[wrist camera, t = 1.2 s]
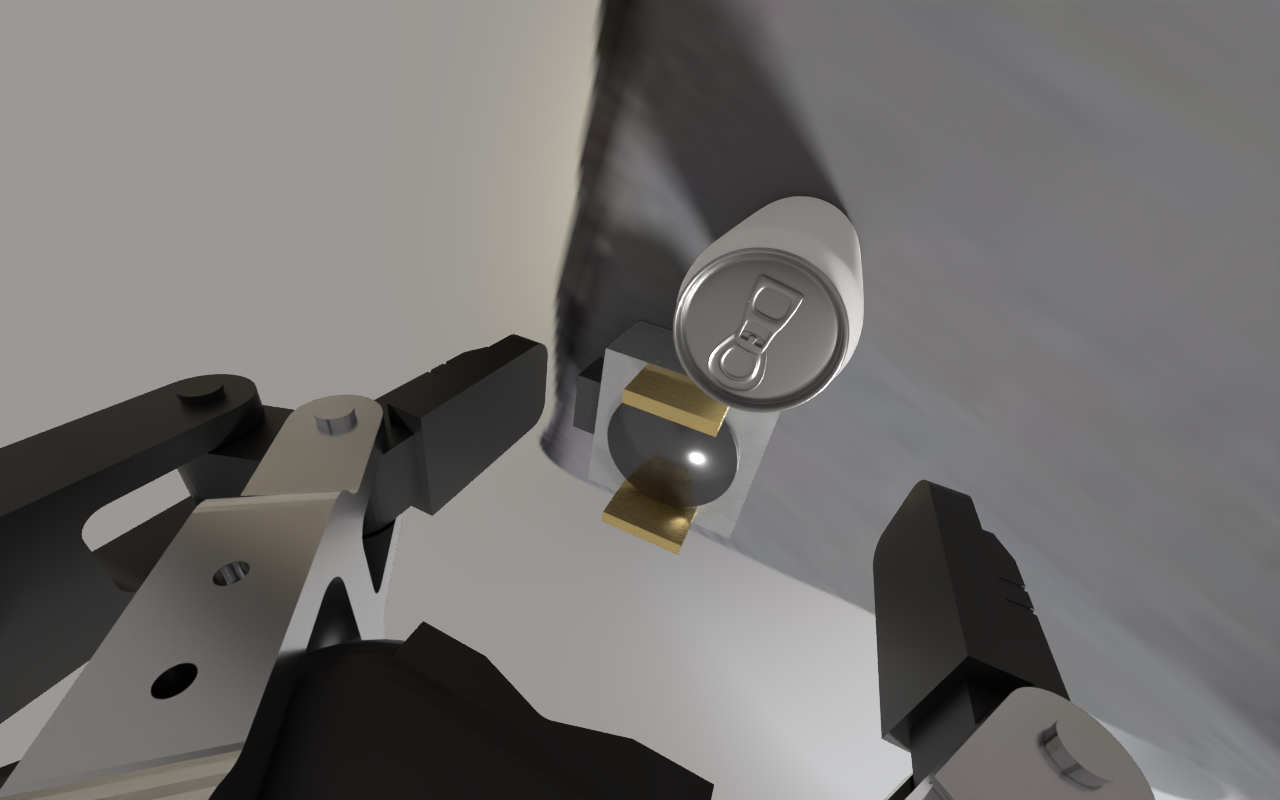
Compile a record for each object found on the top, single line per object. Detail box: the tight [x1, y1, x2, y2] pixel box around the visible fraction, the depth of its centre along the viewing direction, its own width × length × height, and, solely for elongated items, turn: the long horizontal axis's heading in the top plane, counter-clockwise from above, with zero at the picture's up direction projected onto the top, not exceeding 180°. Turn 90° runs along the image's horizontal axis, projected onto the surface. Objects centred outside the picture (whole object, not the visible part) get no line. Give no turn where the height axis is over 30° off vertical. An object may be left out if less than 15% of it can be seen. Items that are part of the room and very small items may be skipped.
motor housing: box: [573, 320, 780, 555], centre depth 28 cm, size 10×12×8 cm
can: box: [673, 196, 864, 413], centre depth 20 cm, size 6×6×12 cm
